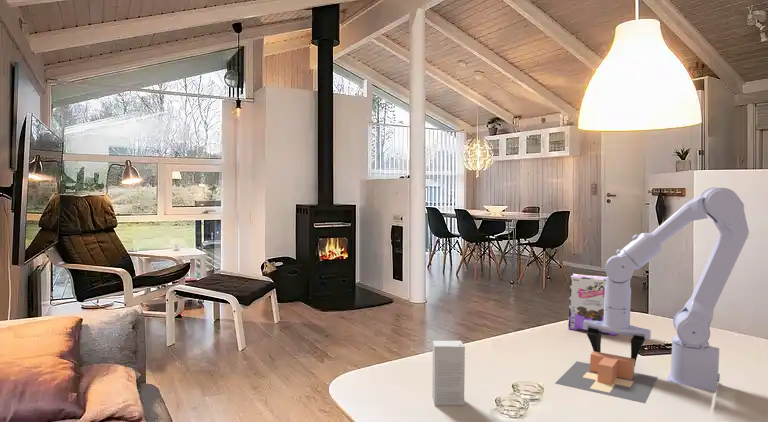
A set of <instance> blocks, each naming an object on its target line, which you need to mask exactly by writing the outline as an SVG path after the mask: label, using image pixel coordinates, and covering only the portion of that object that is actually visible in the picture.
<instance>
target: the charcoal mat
mask: <svg viewBox="0 0 768 422" xmlns="http://www.w3.org/2000/svg"><path fill="white" fill-rule="evenodd" d="M597 378H598V373H596V372H591V371H590V363H588V362H581V361H575V362H574V363H573V364H572V366H570V368H569V369H568V370H566V371H565V373H563V375H562V376H560V377H559V378H558V379H557V380H556V381H555V382H554V384H555V385H561V386H565V387H570V388H574V389H579V390H583V391H588V392H592V393H597V394H600V395H606V396H611V397H615V398H619V399H622V400H623V399H624V400H628V401H632V402H638V403H641V404H646V402H647V400H648V399H649V396H650V394H651V391H652V389H653V387H654V386H655V383H656V381H657V380H658V376H656V375H650V374H644V373H639V372H635V371H634V377H633V378H632V380H630V379H625V378H620V377H617V378H616V380H615V381H614V382H613V384H612V385H610V384H605V383H601V382H597Z"/></svg>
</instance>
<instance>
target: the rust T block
mask: <svg viewBox="0 0 768 422" xmlns="http://www.w3.org/2000/svg"><path fill="white" fill-rule="evenodd" d="M589 364H590V371H591V372H596V373H598V378H597V382H601V383H605V384H610V385H612V384H613V382H614V381H615V380H616V378H617V377H620V378H625V379H630V380H632V378H633V377H634V372H635V367H636V363H635V359H633V358H631V357H629V356H628V357H627V356H623V355H622V356H621V355H617V354H611V353H605V352H596V351H593V350H592V352H591V353H590V363H589ZM634 366H635V367H634Z"/></svg>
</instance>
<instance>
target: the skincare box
mask: <svg viewBox="0 0 768 422" xmlns="http://www.w3.org/2000/svg"><path fill="white" fill-rule="evenodd" d="M465 351H466V346H465V345H464V343H463V342H462V341H461V340H432V387H431V389H432V395H431V396H432V401H433V403H434V404H433V405H434V406H436V407H437V406H441V407H442V406H464V405H465V375H466V374H465V371H466V370H465V367H466V365H465V361H466V360H465V355H466V353H465Z"/></svg>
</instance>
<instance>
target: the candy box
mask: <svg viewBox="0 0 768 422" xmlns="http://www.w3.org/2000/svg"><path fill="white" fill-rule="evenodd" d="M606 278H607V276H601V275H589V274H581V273H580V274H576V273H572V275H570V279H569V280H570V281H569V303H568V305H569V306H568V308H569V309H568V324H567V325H568V330H574V331H581V332H586V333H587V332H588V330H586V329H583V323H584V321H585V320H592V321H604V295H605V286H606V283H605V281H606ZM602 334H603V335H604V334H605V335H609V336H610V335H611V336H617V335H618V334H615V333H609V332H603V331H602Z"/></svg>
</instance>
